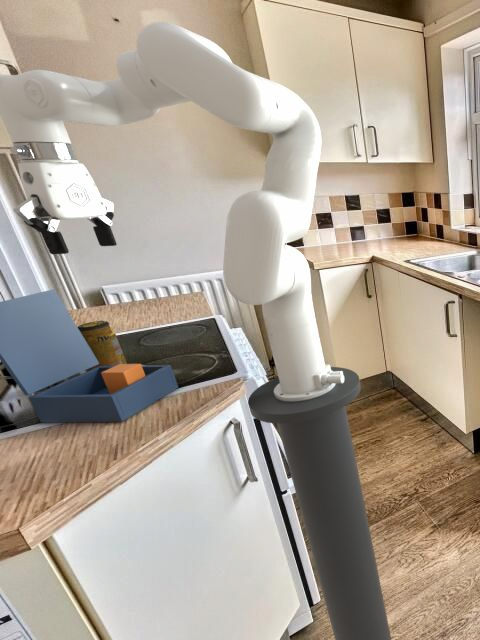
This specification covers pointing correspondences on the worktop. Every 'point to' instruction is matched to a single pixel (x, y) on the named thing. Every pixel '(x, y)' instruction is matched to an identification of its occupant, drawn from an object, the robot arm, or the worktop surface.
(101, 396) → the lunchbox
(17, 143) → the robot arm
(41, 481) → the worktop surface
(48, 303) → the lid
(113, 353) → the condiment
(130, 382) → the orange rectangular block
